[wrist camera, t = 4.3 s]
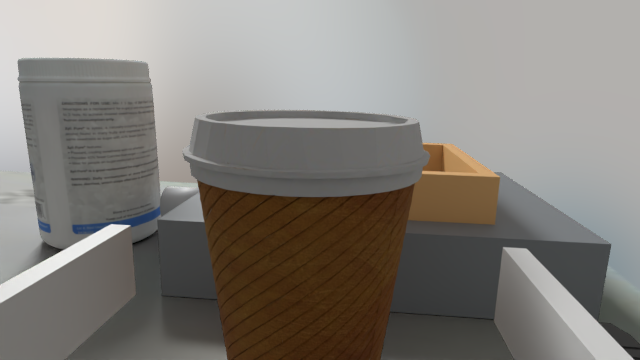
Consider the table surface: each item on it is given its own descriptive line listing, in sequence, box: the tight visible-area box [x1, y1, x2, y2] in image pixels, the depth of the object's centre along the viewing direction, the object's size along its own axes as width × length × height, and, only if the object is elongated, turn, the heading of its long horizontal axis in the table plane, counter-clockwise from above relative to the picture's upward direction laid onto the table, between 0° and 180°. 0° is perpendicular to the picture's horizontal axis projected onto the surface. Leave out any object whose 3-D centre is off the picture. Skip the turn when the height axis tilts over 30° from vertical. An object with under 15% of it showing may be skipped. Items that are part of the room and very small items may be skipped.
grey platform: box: [157, 143, 611, 322], centre depth 35 cm, size 30×20×8 cm, turn 84°
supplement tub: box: [18, 58, 161, 250], centre depth 37 cm, size 10×10×15 cm
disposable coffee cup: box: [183, 110, 430, 360], centre depth 18 cm, size 10×10×12 cm
